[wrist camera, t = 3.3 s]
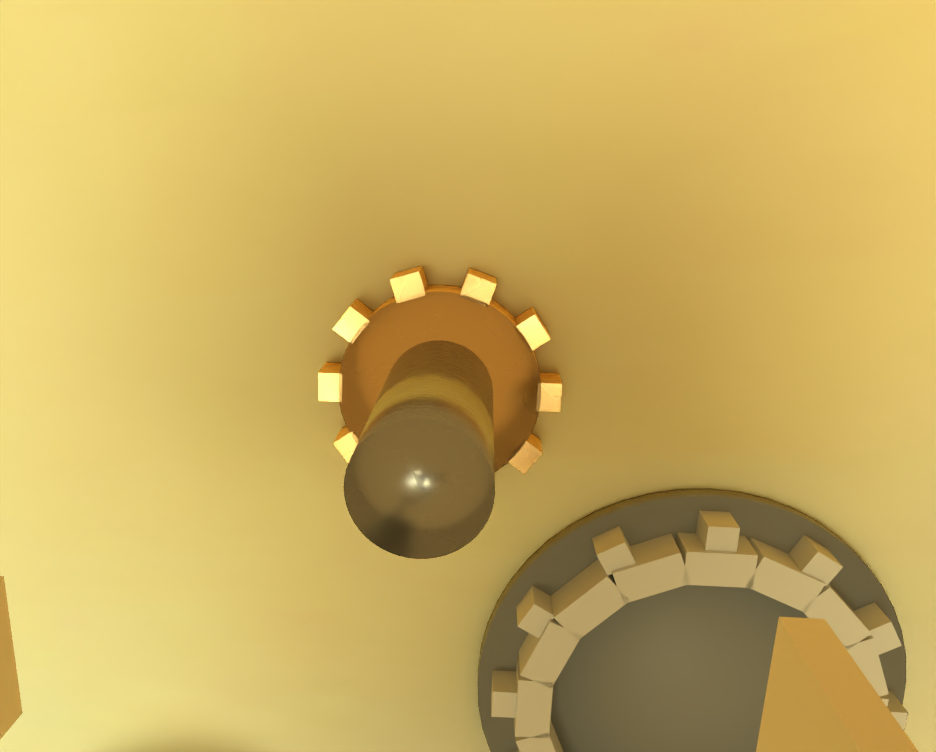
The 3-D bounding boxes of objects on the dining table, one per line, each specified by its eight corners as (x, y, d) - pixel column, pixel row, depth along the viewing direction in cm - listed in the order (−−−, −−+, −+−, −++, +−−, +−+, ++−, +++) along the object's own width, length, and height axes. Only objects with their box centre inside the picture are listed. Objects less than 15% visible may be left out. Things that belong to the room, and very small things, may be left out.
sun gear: (326, 481, 32) (253, 630, 22) (325, 261, 30) (242, 316, 20) (549, 492, 32) (577, 647, 22) (566, 272, 30) (606, 332, 20)
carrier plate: (469, 836, 37) (468, 881, 35) (487, 478, 32) (487, 503, 30) (857, 857, 37) (882, 904, 34) (934, 499, 32) (969, 526, 30)
